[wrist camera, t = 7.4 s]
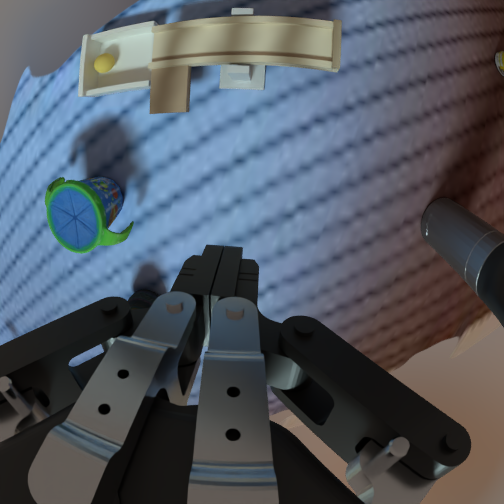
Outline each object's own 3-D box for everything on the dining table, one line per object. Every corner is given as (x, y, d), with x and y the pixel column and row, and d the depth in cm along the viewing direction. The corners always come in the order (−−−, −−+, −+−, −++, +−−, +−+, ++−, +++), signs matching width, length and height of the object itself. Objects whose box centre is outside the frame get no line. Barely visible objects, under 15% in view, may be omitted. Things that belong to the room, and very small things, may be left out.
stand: (268, 21, 29) (269, 1, 22) (263, 90, 34) (264, 83, 27) (224, 20, 29) (216, 0, 22) (219, 88, 34) (210, 82, 27)
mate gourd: (132, 308, 52) (113, 342, 43) (133, 278, 49) (111, 311, 40) (165, 319, 53) (151, 355, 44) (169, 289, 49) (152, 324, 40)
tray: (163, 27, 29) (151, 18, 24) (158, 88, 33) (145, 85, 29) (99, 40, 29) (83, 35, 24) (95, 96, 33) (78, 96, 29)
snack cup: (63, 196, 41) (28, 217, 32) (85, 146, 37) (47, 159, 28) (127, 246, 45) (100, 277, 36) (155, 199, 42) (129, 224, 33)
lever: (338, 28, 23) (341, 20, 20) (333, 120, 28) (335, 121, 26) (159, 30, 26) (148, 25, 23) (153, 113, 31) (142, 114, 29)
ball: (105, 56, 30) (119, 52, 29) (104, 74, 32) (118, 71, 31) (90, 55, 27) (104, 50, 26) (89, 74, 29) (102, 70, 28)
